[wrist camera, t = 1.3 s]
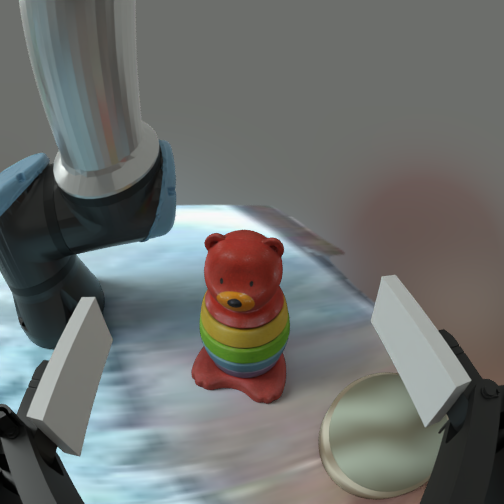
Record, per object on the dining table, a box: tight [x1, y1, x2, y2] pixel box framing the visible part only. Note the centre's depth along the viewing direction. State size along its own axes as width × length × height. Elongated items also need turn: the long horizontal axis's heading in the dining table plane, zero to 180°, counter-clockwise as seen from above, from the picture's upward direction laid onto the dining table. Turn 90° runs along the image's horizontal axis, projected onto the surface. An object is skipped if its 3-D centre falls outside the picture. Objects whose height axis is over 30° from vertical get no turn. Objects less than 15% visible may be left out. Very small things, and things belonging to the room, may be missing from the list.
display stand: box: [318, 373, 449, 500], centre depth 25 cm, size 15×15×3 cm
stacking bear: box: [192, 230, 290, 404], centre depth 29 cm, size 11×10×18 cm
